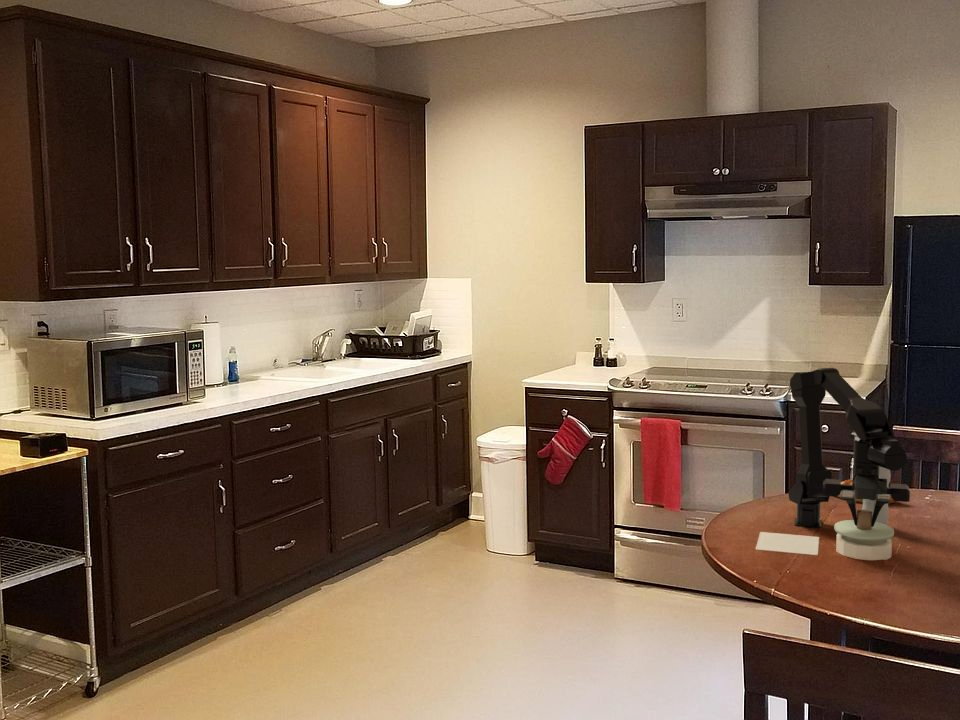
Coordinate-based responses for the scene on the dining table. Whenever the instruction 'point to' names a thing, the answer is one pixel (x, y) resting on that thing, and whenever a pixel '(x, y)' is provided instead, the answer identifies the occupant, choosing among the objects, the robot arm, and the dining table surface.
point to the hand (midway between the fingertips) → (864, 525)
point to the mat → (788, 543)
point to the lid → (864, 528)
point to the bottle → (869, 503)
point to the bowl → (864, 548)
